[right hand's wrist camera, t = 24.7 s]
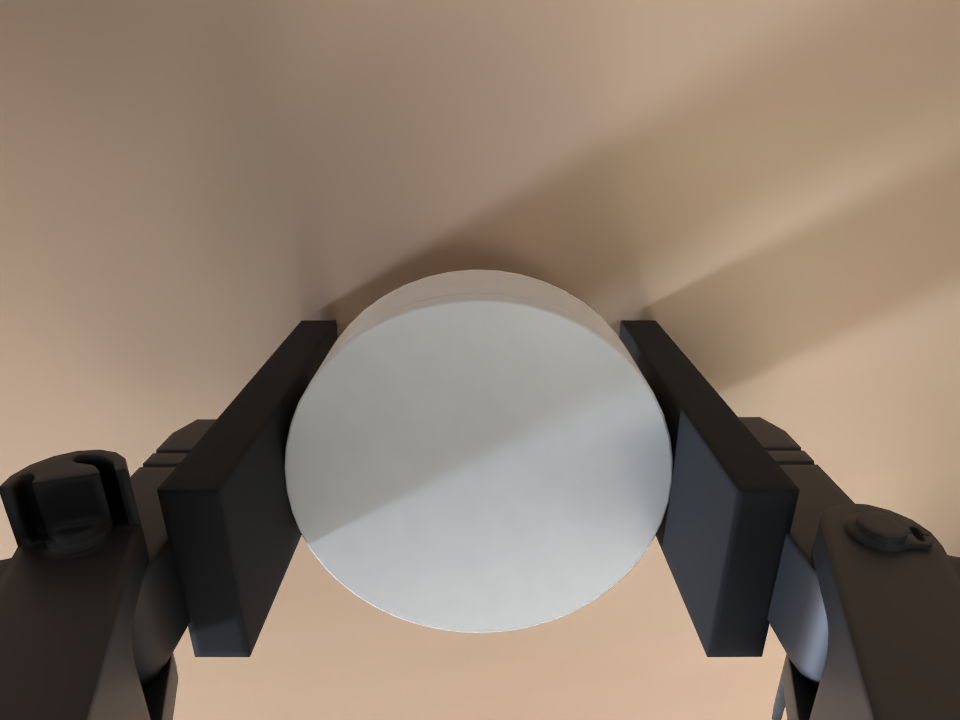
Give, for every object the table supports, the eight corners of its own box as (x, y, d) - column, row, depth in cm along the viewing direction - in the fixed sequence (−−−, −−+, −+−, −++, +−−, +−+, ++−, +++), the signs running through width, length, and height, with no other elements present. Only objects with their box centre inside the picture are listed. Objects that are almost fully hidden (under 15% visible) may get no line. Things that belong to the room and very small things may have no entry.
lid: (512, 609, 13) (516, 684, 12) (254, 462, 12) (215, 522, 10) (714, 396, 12) (756, 447, 10) (435, 193, 10) (425, 211, 8)
